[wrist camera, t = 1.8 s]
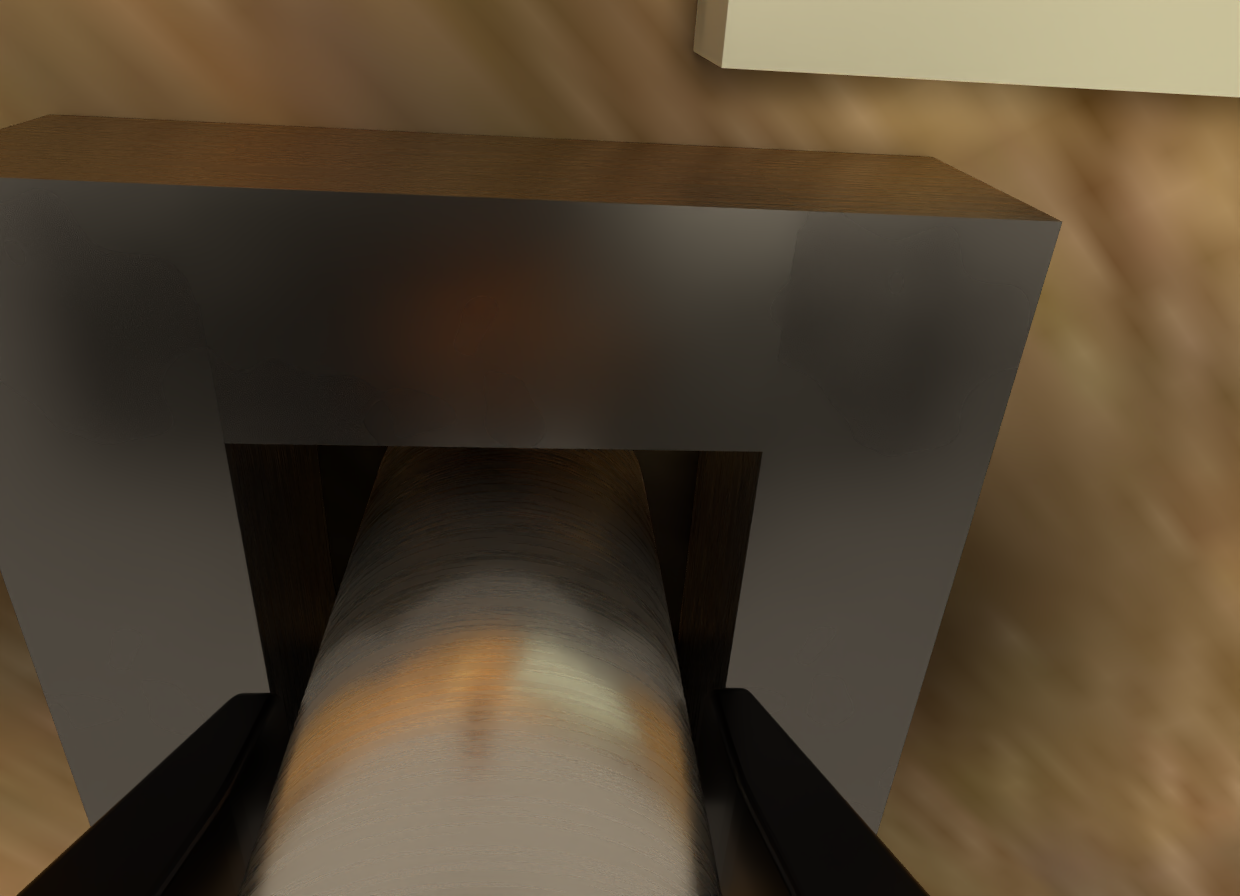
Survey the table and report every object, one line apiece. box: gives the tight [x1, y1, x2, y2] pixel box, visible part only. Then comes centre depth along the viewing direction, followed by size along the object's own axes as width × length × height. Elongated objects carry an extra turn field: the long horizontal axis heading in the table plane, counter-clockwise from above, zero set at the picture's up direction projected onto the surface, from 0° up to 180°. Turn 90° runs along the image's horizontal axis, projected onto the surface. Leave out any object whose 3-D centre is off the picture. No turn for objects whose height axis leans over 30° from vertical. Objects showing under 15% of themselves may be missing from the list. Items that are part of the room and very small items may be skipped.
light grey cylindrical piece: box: [238, 446, 722, 896], centre depth 8 cm, size 5×5×10 cm
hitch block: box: [0, 115, 1062, 835], centre depth 11 cm, size 10×10×3 cm
